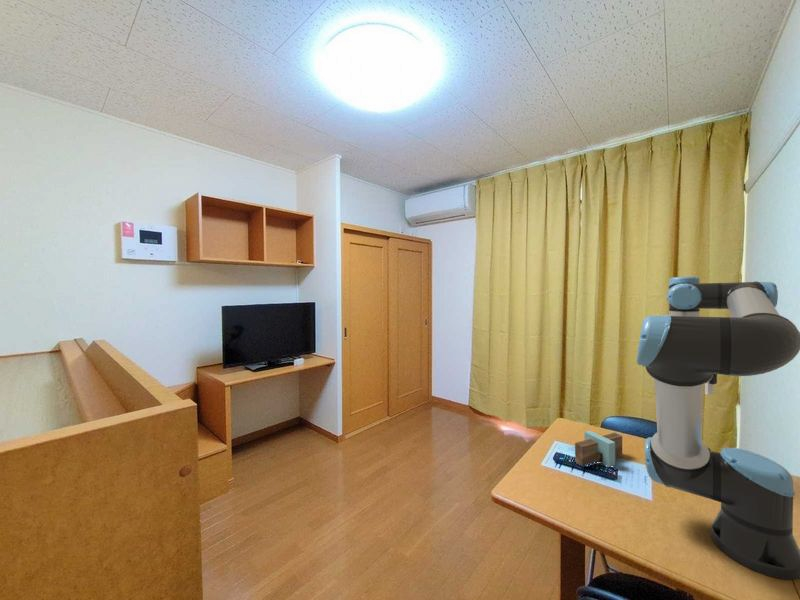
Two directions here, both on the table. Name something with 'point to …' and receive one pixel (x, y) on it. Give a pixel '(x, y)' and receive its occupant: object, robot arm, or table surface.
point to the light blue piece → (603, 447)
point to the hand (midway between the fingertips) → (683, 387)
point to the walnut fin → (595, 450)
